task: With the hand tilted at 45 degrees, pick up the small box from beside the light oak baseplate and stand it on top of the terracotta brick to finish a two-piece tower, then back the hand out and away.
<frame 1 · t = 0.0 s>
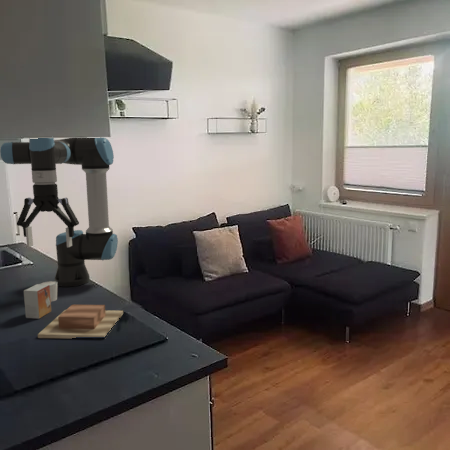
hand: (49, 246, 152), 28 cm above the worktop, tool pointing down, fingers open, 13 cm apart
small box: (39, 315, 166), on the worktop
tower base: (83, 325, 157), on the worktop
shot glass: (49, 300, 182), on the worktop
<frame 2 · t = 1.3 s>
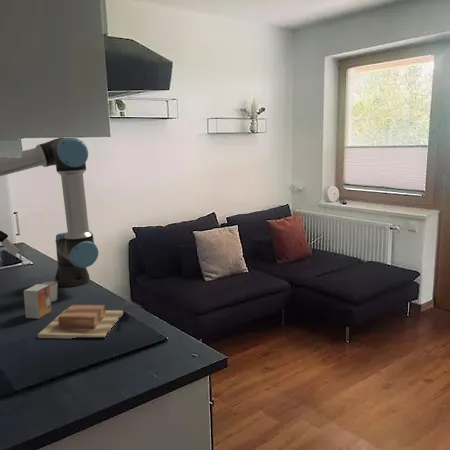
hand: (7, 257, 163), 22 cm above the worktop, tool tilted 45°, fingers open, 13 cm apart
nothing on the worktop moved.
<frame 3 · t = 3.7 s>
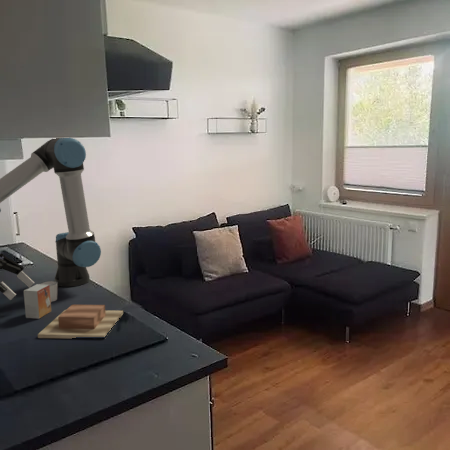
hand: (23, 291, 164), 9 cm above the worktop, tool tilted 45°, fingers open, 13 cm apart
nothing on the worktop moved.
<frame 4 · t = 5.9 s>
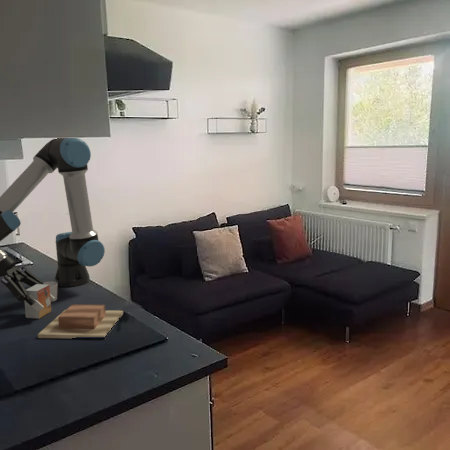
hand: (46, 305, 166), 4 cm above the worktop, tool tilted 45°, fingers closed on small box, 9 cm apart
small box: (39, 315, 166), on the worktop, touching gripper
everything else where it was.
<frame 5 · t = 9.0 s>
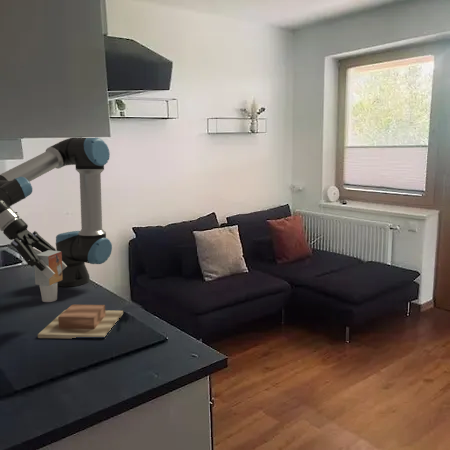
hand: (58, 272, 156), 18 cm above the worktop, tool tilted 45°, fingers closed on small box, 9 cm apart
small box: (49, 282, 157), point 14 cm above the worktop, touching gripper
everything else where it was.
when the fingers open (10 cm above the worktop, at t = 12.1 s): small box drops 1 cm, resting on tower base.
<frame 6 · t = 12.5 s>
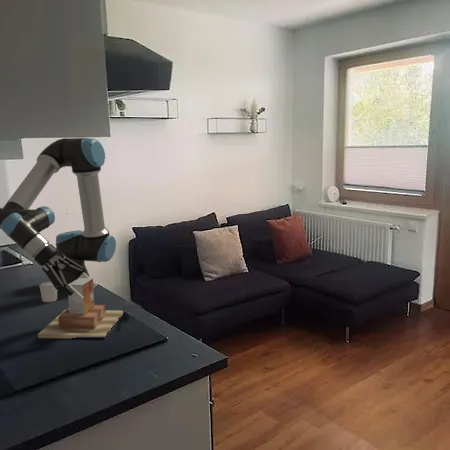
hand: (88, 293, 154), 11 cm above the worktop, tool tilted 45°, fingers open, 13 cm apart
small box: (82, 311, 156), point 5 cm above the worktop, touching tower base
everything else where it was.
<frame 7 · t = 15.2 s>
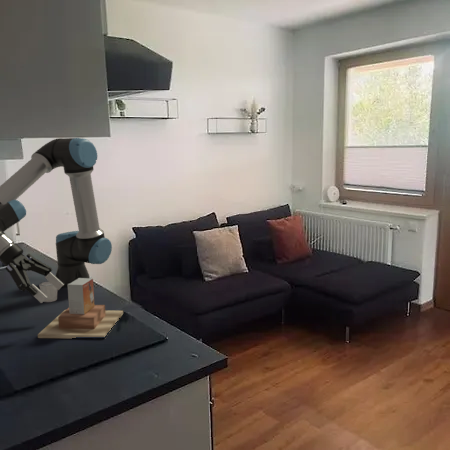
hand: (53, 293, 155), 11 cm above the worktop, tool tilted 45°, fingers open, 13 cm apart
nothing on the worktop moved.
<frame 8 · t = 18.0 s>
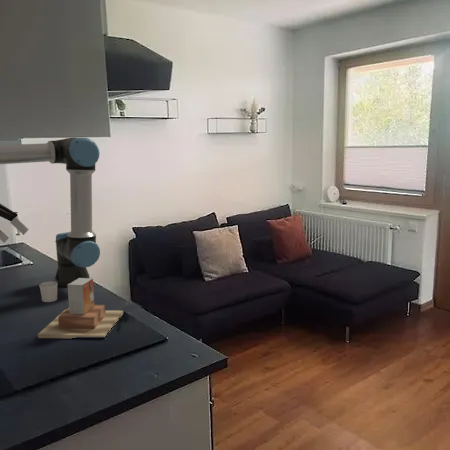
hand: (16, 235, 161), 30 cm above the worktop, tool tilted 45°, fingers open, 13 cm apart
nothing on the worktop moved.
at the end: small box 0.4 cm off-centre on the tower base, point 5.0 cm above the tower base's base; small box tilted 0°; the gripper is holding nothing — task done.
